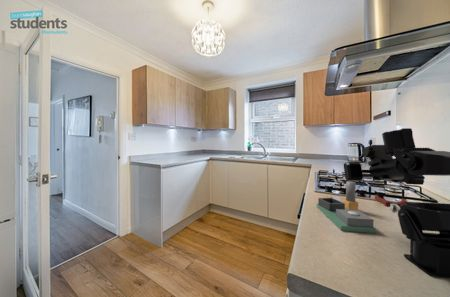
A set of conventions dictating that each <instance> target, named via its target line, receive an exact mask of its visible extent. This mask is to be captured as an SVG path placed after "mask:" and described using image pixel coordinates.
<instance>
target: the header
mask: <svg viewBox="0 0 450 297" xmlns="http://www.w3.org/2000/svg"><path fill="white" fill-rule="evenodd" d="M317 202H318V203H317V204H318V205H319V206H321V207H323V208H325V209H327V210H328V211H336V209H343V210H345V203H343V201H340V200H337V199H335V198H334V197H318V201H317Z"/></svg>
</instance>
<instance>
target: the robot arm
mask: <svg viewBox="0 0 450 297" xmlns="http://www.w3.org/2000/svg"><path fill="white" fill-rule="evenodd" d="M381 136H382V141H383V144H372V145H368V146H365V147H364V148H363V149H362V150H361V152H362V155H363V157H364V158H368V159H369V161H368V162H367V164H368V166H369V168H368V169H362V164H361V162H359V161H346V162H344V164H343V170H344V171H343V172H344V178H345V180H346V182H347V181H351V182H362V181H363V179H364V178H372V181H384V182H385V181H386V182H388V181H389V182H392V183H400V184H401V183H405V184H406V185H414V186H415V185H417V186H418V185H420V186H421V185H422V186H423V185H424V184H425V176H436V177H437V176H439V177H441V176H442V177H443V176H444V177H446V176H447V177H450V151H445V150H435V149H433V148H430V147H416V145H415V144H416V143H415V140H414V139H415V138H414V134H413V129H412V128H410V127H409V128H406V127H405V128H401V129H396V130H391V131H384V132H382V133H381ZM393 157H394V158H393ZM406 204H407V205H406ZM406 204H405V205H401V206H400V207H401V208H400V210H399V211H397V217H398V221H399V226H400V229H401V230H400V231H401V233H402V234H403V235H404V236H405V237H406V239H409V242H410V243H409V244H410V246H409V247H410V249H409V253H410V254H408V253H403V257H404V258H405V259H407V260H408V261H409V262H411V263H412V264H414V265H415V266H416V265H417V266H416V267H417V268H419V269H420V270H421V271H423V272H424V273H426V274H427V275H429V276H432V277H440V278H441V277H442V278H450V203H443V202H442V203H440V202H421V201H419V202H418V201H417V202H416V201H407V202H406ZM424 231H425V232H424ZM434 232H435V233H434ZM436 232H437V233H436Z"/></svg>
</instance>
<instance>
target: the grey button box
mask: <svg viewBox="0 0 450 297" xmlns="http://www.w3.org/2000/svg"><path fill="white" fill-rule="evenodd" d="M336 216H337V217H338V218H339V219H340V220H341V221H343V222H344V223H345V224H346V225H348V226H362V227H374V223H375V222H374V221H375V220H374V219H373V218H372V217H370V216H369V215H367V214H366V213H363V211H360V210H359V209H358V210H343V209H336Z"/></svg>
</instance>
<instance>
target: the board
mask: <svg viewBox="0 0 450 297" xmlns="http://www.w3.org/2000/svg"><path fill="white" fill-rule="evenodd" d="M316 208H317V209H318V210H319V211H320V212H322V214H323V215H324V216H325V217H326V218H327V219H329V221H331V222H332V224H334V225H335V226H336V228H338V229H339V230H340V231H342V232H343V231H344V232H355V233H357V232H358V233H369V234H370V233H371V234H376V229H377V228H376V227H375V226H373V227H362V226H348V225H346V224H345V223H344V222H343V221H341V220H340V219H339V218H338V217H337V216H336V211H328V210H327V209H325V208H323V207H321V206H319V205H318V203H316ZM345 210H348V209H347V208H345Z"/></svg>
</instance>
